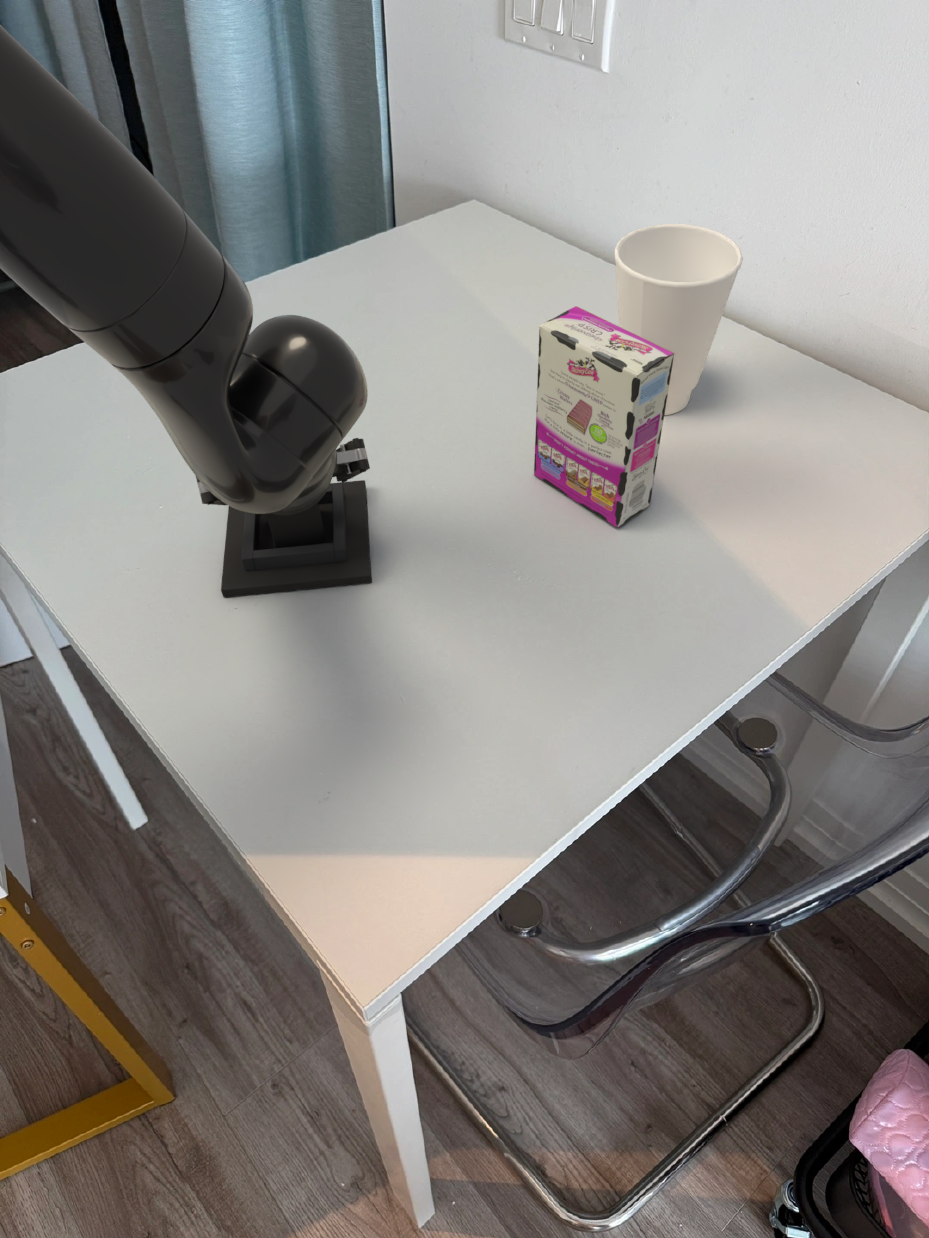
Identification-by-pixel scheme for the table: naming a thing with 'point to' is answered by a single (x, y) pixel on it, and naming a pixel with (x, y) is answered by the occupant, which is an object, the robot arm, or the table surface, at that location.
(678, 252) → the cup
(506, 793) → the table surface
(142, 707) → the table surface
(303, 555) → the base pad
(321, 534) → the black block
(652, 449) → the candy bar box
